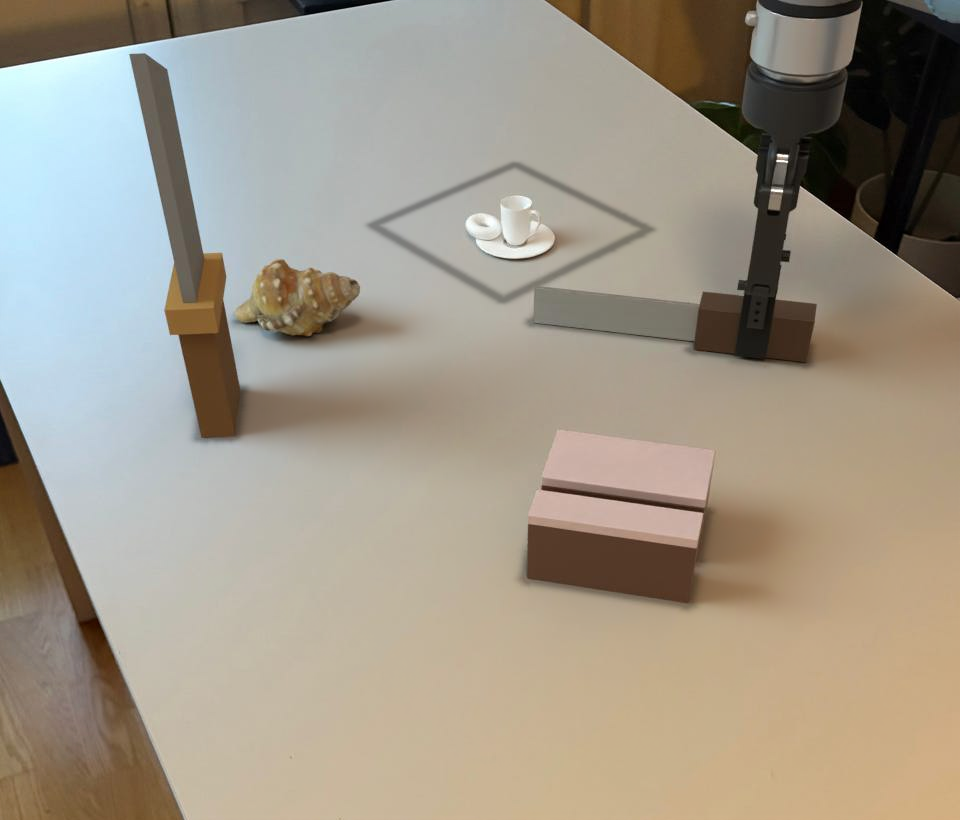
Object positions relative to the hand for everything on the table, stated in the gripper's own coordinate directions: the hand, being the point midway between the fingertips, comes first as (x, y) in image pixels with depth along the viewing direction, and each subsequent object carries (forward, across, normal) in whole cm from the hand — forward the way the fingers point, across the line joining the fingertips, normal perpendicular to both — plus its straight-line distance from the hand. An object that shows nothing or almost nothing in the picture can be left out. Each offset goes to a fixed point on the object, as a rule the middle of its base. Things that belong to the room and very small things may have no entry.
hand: (752, 343), depth 109 cm
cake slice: (+1, +33, -7) cm, 34 cm away
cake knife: (0, 0, -8) cm, 8 cm away
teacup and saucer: (0, -17, -26) cm, 31 cm away
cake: (+1, +27, -7) cm, 28 cm away
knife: (+1, +20, -43) cm, 48 cm away
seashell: (0, +5, -41) cm, 41 cm away
